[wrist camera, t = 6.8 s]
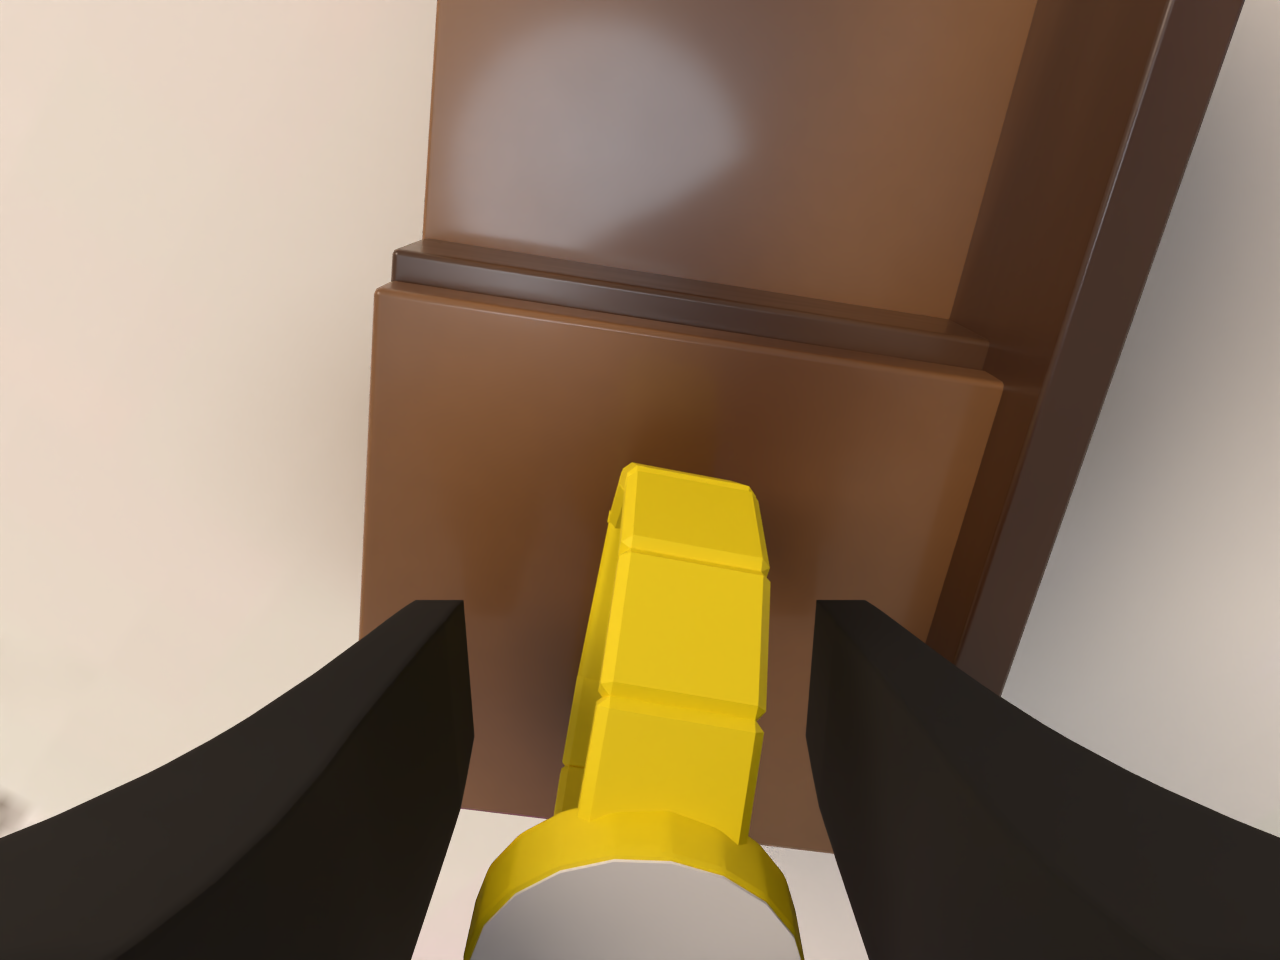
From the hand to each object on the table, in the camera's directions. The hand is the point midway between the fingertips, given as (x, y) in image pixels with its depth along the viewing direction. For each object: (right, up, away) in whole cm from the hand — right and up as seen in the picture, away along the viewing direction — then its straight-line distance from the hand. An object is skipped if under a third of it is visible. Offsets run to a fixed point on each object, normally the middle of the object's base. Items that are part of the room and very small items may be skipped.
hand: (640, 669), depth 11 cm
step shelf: (+1, +6, +5) cm, 8 cm away
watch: (0, +1, +2) cm, 2 cm away
